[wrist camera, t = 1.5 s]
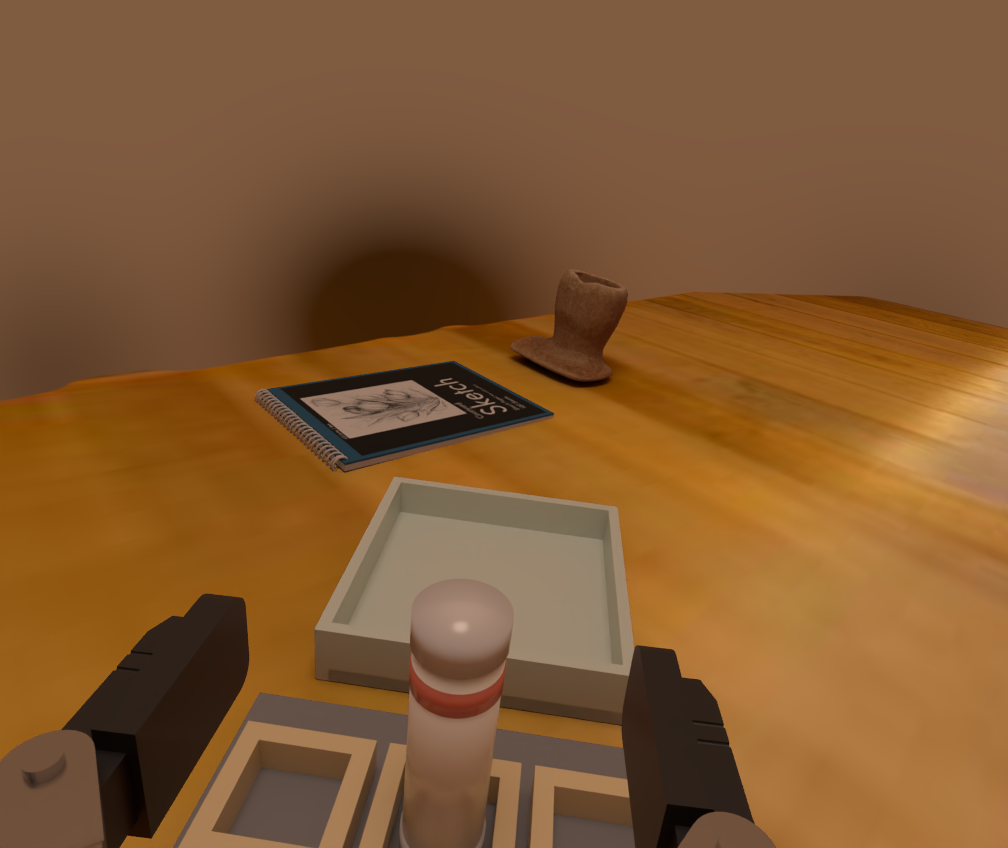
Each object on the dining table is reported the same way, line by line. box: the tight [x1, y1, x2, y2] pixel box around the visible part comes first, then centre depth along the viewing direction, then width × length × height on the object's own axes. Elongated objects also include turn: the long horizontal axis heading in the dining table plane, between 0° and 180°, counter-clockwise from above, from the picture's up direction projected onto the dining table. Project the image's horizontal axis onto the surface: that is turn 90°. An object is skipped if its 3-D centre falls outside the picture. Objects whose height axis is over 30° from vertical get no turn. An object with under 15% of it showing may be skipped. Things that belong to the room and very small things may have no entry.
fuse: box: [399, 579, 514, 848], centre depth 29 cm, size 4×4×14 cm
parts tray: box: [314, 477, 634, 725], centre depth 49 cm, size 20×20×4 cm
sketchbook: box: [255, 361, 554, 472], centre depth 82 cm, size 22×30×2 cm
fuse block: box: [173, 693, 635, 848], centre depth 31 cm, size 24×14×4 cm, turn 84°
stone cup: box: [510, 270, 628, 382], centre depth 98 cm, size 15×12×15 cm
